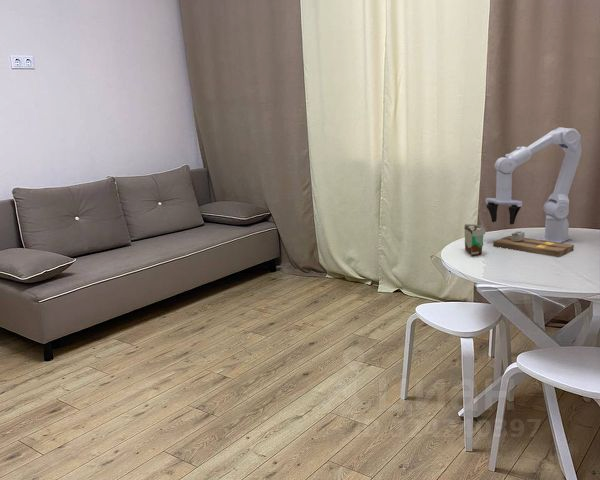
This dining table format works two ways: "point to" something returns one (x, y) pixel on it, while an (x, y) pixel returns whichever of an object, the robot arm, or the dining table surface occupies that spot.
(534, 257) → the dining table surface
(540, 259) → the dining table surface
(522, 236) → the fader knob
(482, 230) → the food container
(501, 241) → the fader console
